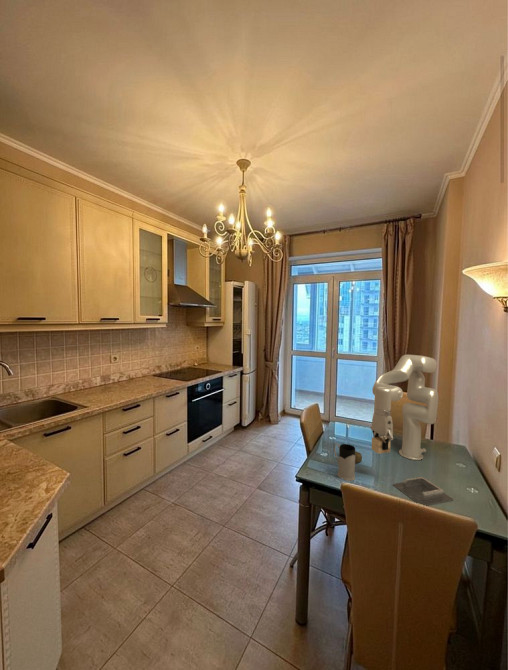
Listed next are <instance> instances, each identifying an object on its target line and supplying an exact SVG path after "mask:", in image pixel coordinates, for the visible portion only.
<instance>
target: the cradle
mask: <svg viewBox="0 0 508 670" xmlns="http://www.w3.org/2000/svg"><path fill="white" fill-rule="evenodd" d="M392 486H394V487H395V488H396V489H397V490H399V491H400V492H401V493H402V494H403V495H405V496H407V497H408V498H409V499H411V500H412V501H414V503H416V504H417V503H420V504H423V505H427V506H431V504H433V505H436V504H437V505H438V504H442V503H448V502H451V501H453V502H454V498H453V497H451V496H449V495H447V494H446V493H445V492H444V489H443V488H441V487H439V486H438V485H436V484H434V482H431V481H429V480H428V479H426V478H424V477H423V476H420V477H419V476H418V477H414V478H413V477H411V478H406V479H403V481H402V482H397V483H392ZM427 506H426V507H427Z"/></svg>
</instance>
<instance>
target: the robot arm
mask: <svg viewBox="0 0 508 670" xmlns="http://www.w3.org/2000/svg"><path fill="white" fill-rule="evenodd" d="M437 367H438V364H437V360H436V359H435V358H433V357H429V356H426V355H425V356H424V355H416V354H404V355H403V354H402V355H401V357H400V358H399V360H398V362H397V363H396V365H395V366H394V367H393V369H392V370H389V371H388V372H384V373H383V374H381V375H380V376H379V377H378V378H377V379H376V380H375V382H374V384H373V386H372V391H371V392H372V394H373V395H374V407H373V414H372V419H371V426H370V430H371V432H372V434H373V438H374V437H380V436H381V437H382V436H383V442H382V450H388V442H390V441H393V440H394V437H393V435H394V425H393V423H394V422H393V417H392V416H391V415H392V412H391V411H392V402H398V401H400V400H401V399H402V398H403V395H404V393H403V392H404V391H403V389H402V388H401V387H399V386H397V385H391V384H395V383H396V384H397V383H402V382H407V381H408V382H407V383H408V384H407V392H406V396H407V399H408V400H410V401H413V402H416V403H413V402H405V403H404V404H403V405H402V409H401V413H402V442H401V443H402V444H401V448H400V449H399V450H398V453H399V455H400V456H401V457H403V458H406V459H409V460H413V461H421V459H422V460H424V459H423V458H424V455H423V453H425V452H427V448H421V443H422V442H421V440H422V426H421V424H420V423H424V424H427V425H434V424H435V423H436V420H437V416H438V408H439V407H438V406H439V393H438V391H437V389H435V388H432V387H426V386H425V385H426V384H425V383H426V377H425V376H424V373H428V374H431V373H435V371H436V370H437ZM419 403H421V404H419ZM422 404H425V405H422ZM385 438H387V439H385ZM390 443H391V442H390Z"/></svg>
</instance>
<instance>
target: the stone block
mask: <svg viewBox="0 0 508 670" xmlns="http://www.w3.org/2000/svg"><path fill="white" fill-rule="evenodd" d="M362 457H363V456H362V454H361V452H358V451H356V450H355V464H358V463H361V462H362V461H363V458H362Z"/></svg>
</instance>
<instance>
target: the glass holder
mask: <svg viewBox="0 0 508 670" xmlns="http://www.w3.org/2000/svg"><path fill="white" fill-rule="evenodd" d="M336 445H337V446H338V452H339V454H338V455H337V452H336ZM355 451H356V447H355V446H354V445H352V444H347V443H342V444H339V443H338V442H335V443H334V445H333V452H334V456H335V459H336V461H337V463H338V469H337V470H338V471H337V474H338V475H337V474H336V475H337V477H338V476H339V477H340V479H341V478H343V479H344V481H346V480H347V481H348V482H351V481H354V480H356V474H355V472H356V471H355V470H356V463H355ZM339 477H338V478H339ZM343 479H342V480H343ZM347 481H346V482H347Z"/></svg>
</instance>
